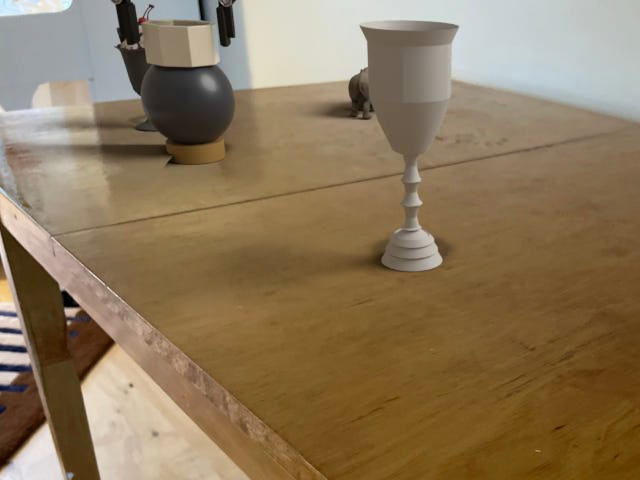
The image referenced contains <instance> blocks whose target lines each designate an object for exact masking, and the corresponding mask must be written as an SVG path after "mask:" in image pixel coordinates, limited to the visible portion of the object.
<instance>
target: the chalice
mask: <svg viewBox="0 0 640 480" xmlns="http://www.w3.org/2000/svg"><path fill="white" fill-rule="evenodd" d="M358 26H359V28H360V30H361V32H362V35H363V36H364V39H365V40H366V50H367V52H366V53H367V67H368V82H369V97H370V100H371V103H372V106H373V109H374V110H373V112H374V115H375V117H376V119H377V122H378V124H379V126H380V128H381V130H382V132H383V135H384V136H385V138H386V140H387V142H388V145H389V146H390V147H391V150H392V151H393V152H395V153H397V154H399V155H402V156H403V160H404V170H403V176H402V177H401V179H400V181H401V183H402V185H403V187H404V190H405V193H404V197H403V199H402V200H401V201H400V203H399V204H400V205H401V206H402V207H403V210H404V214H405V220H404V225H402V226H401V228H399V229H397V230H395V231H394V232H393V233H392V235H391V236H390V237H389V239H388V243H387V245H386V246H385V251H384V254H382V257H381V263H382V264H383V266H385V267H387V268H389V269H392V270H395V271H399V272H400V271H401V272H423V271H424V272H425V271H429V270H432V269H435V268H437V267H439V266H441V264H442V263H443V257H442V255H441V254H440V252H439V247H438V246H437V244H436V242H435V237H434V236H433V235H432V234H431V232H429V231H428V230H426V229H424V228H422V226H421V225H420V224H419V219H418V214H419V210H420V207H421V206H422V205H423V201H422V200H421V199H420V197H419V193H418V189H419V185H420V183H421V182H422V178H421V177H420V175H419V170H418V161H419V156H420V155H423V154H424V153H426V152H428V151H430V149H431V147H432V145H433V142H434V140H435V139H436V136H437V135H438V133H439V130H440V128H441V126H442V124H443V122H444V119H445V116H446V112H447V110H448V106H449V104H450V102H451V97H452V54H453V53H452V51H453V50H452V48H453V47H452V43H453V41H454V39H455V37H456V35H457V33H458V30H459V29H460V26H459V25H458V24H455V23H449V22H442V21H431V20H404V19H403V20H402V19H400V20H397V19H395V20H391V19H390V20H371V21H364V22H360V23H359V24H358Z"/></svg>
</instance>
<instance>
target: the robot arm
mask: <svg viewBox="0 0 640 480" xmlns="http://www.w3.org/2000/svg"><path fill="white" fill-rule="evenodd" d="M236 1H237V0H217V4H218V6H217V7H216V8H215V12H216V14H215V15H216V21H217V32H218V39H219V45H220V46H221V47H222V48H228V47H229V46H230V45H231V44H232V39H235V38H236V27H235V16H234V8H233V6H234V4H235V2H236ZM110 2H111V3H113V4H114V5H115V11H116V17H117V23H118V27H119V29H120V33H121V35H122V36H126V42H127V45H134V44H136V43H138V42H140V33H139V27H138V14H137V8H136V4H135V3H134V2H133V1H131V0H110Z"/></svg>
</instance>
